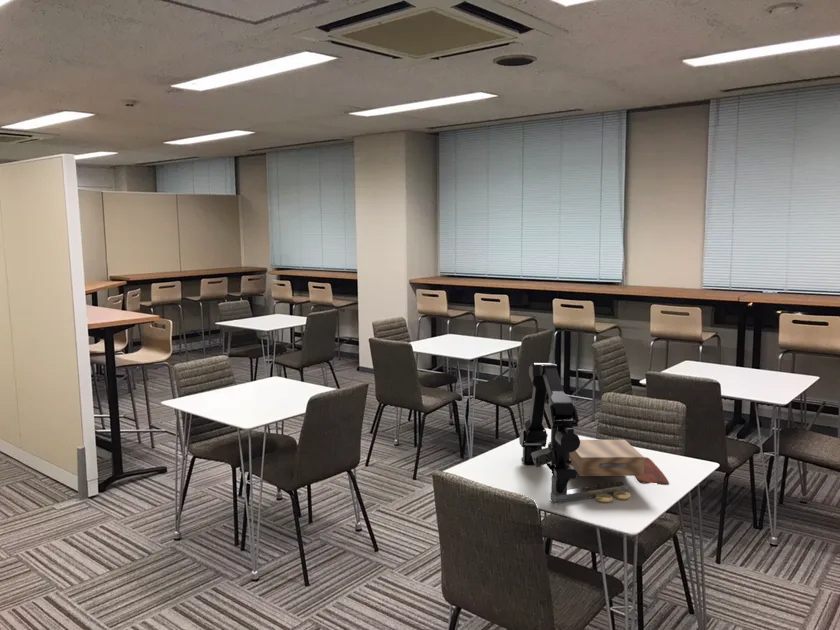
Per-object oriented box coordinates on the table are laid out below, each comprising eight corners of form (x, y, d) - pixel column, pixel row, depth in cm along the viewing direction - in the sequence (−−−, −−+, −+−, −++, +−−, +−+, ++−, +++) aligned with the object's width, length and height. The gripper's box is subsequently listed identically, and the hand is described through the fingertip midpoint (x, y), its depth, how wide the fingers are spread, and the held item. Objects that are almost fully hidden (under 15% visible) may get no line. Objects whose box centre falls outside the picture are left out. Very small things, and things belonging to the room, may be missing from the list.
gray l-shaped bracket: (555, 503, 198) (556, 478, 197) (550, 499, 201) (551, 475, 200) (626, 492, 207) (628, 468, 206) (620, 488, 210) (622, 465, 209)
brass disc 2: (620, 502, 200) (620, 497, 200) (609, 496, 205) (610, 491, 205) (633, 499, 202) (633, 495, 202) (622, 493, 207) (622, 489, 207)
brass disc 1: (600, 504, 198) (600, 500, 198) (592, 498, 203) (592, 493, 203) (615, 503, 200) (615, 498, 199) (606, 497, 204) (607, 492, 204)
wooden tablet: (670, 486, 214) (670, 481, 214) (638, 485, 216) (639, 480, 215) (651, 459, 241) (652, 454, 240) (623, 457, 242) (624, 453, 242)
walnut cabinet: (580, 495, 205) (581, 458, 203) (565, 473, 224) (566, 439, 222) (643, 495, 206) (645, 458, 204) (623, 473, 224) (624, 439, 223)
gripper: (527, 432, 207) (526, 479, 209) (540, 451, 188) (539, 503, 190) (562, 432, 207) (561, 479, 209) (578, 451, 189) (577, 503, 191)
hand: (558, 490), depth 200 cm, fingers closed on gray l-shaped bracket, 3 cm apart
